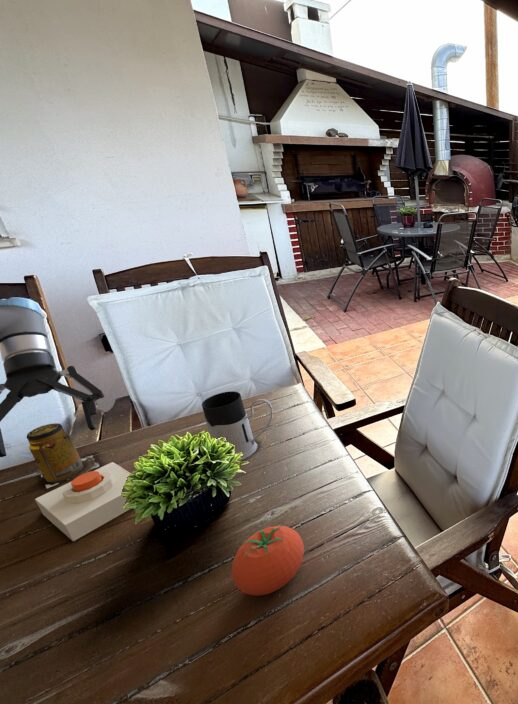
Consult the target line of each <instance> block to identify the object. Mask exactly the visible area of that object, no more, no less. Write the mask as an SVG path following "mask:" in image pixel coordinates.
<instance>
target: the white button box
mask: <svg viewBox="0 0 518 704" xmlns="http://www.w3.org/2000/svg"><path fill="white" fill-rule="evenodd" d="M94 471H98V472H99V473H100V475H101V478H102V481H101V482H100V483H99V484H98V485H96V486H94V487H92V488H90V489H88V490H85V491H81V492H75V491H74V489H73V487H72V485H71V482H72V481H70V482H67V483H65V484H63V485H60V486H59V487H57V488H55V489H53V490H50V491H49V492H46V493H45V494H42V495H40V496H38V497H36V498H34V501H35V503H36V504H37V507H38V508H39V510H40V512H41V514H42V515H43V517H45V518H46V519H47V520H48V521H50V522H51V524H53V525H54V526H55V527H56V528H57V529H59V530H60V532H62V533H63V534H64V535H65V536H66V537H67V538H68V539H69V540H71V541H72V542H76V541H77V540H78V539H80V538H82V537H84V536H86V535H87V534H89V533H91V532H92V531H94V530H96V529H98V528H100V527H101V526H104V525H105V524H107V523H108V522H110V521H112V520H113V519H115V518H117V517H119V516H120V515H123V514H124V513H126V512H128V511H130V509H123V505H124V504H125V502H126V498H125V497H123V496H122V495H121V492H122V489H123V486H124V484H125V482H126V480H127V477H128V476H129V475H130V474H132V473H131V472H129V471H128V470H126V469H125V468H123V467H122V466H120V465H118V464H117V463H115V462H113V461H111V462H110V463H107V464H105V465H103V466H101V467H99V468H96V469H95V470H94Z"/></svg>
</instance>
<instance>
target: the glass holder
mask: <svg viewBox="0 0 518 704" xmlns="http://www.w3.org/2000/svg"><path fill="white" fill-rule="evenodd" d="M259 402H263V403H266V404H267V405H268V406H269V410H270V418H269V421H268V423H267V424H266V425H265V427H264V428H263V429H261V431H260V432H258V433H257V434H256V435H255V436H253V431H252V429H251V424H250V420H249V418H252V417H253V416H254V413H255V412H254V405H255V404H256V403H259ZM201 408H202V411H203V417H204V421H205V423H206V427H207V430H208V433H209V436H210V435H211V436H212V437H213V438H216V439H218V438H220V437H225V438H226V440H227V441H228V442H229V443H231V444H233V445H235V452H242V453H243V457H242V460H241V461H244V460H245V459H247V458H249V457H250V456H252V455H253V454H254V453H255V452H256V451H257V449H258V444H257V442H255V440H256V439H258V438H259V436H260V435H261V434H263V433H264V432H265V431H266V430H267V429H268V428H269V426H270V425H271V423H272V420H273V417H274V411H273V406H272V404H271V402H270V401H269V400H268V399H265V398H258V399H256V400H254V401H253V402H252V403H251V405H250V413H251V414H249V415H248V414H247V411H246V409H245V405H244V403H243V398H242V395H241V393H240V392H239V391H233V390H232V391H231V390H230V391H223V392H220V393H217V394H213V395H211V396H209V397H208V398H206V399H204V400H203V401H202V402H201ZM211 436H210V437H211Z"/></svg>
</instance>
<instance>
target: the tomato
mask: <svg viewBox="0 0 518 704" xmlns="http://www.w3.org/2000/svg"><path fill="white" fill-rule="evenodd" d="M304 554H305V547H304V542H303V539H302V537H301V535H300V534H299V533H298V532H297V531H296V530H295V529H293V528H291V527H289V526H285V525H274V526H269V527H266V528H264V529H259V531H257V532H255V533H254V534H253V535H251V536H250V537H248V538H247V539H246V540H245V541H244V542H243V543H241V546H240V547H239V548H238V550H237V551H236V553H235V555H234V557H233V560H232V565H231V577H232V581H233V583H234V585H235V586H236V588H237V589H238V590H240V591H241V592H242V593H244V594H247V595H250V596H256V597H257V596H264V595H268V594H271V593H274V592H276V591H277V590H280V589H281V588H283V587H284V586H285V585H287V584H288V583H289V582H290V581H291V580H292V579H293V578H294V577H295V576H296V574H297V573H298V571H299V570H300V567H301V565H302V563H303V559H304V556H305V555H304Z"/></svg>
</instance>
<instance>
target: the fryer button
mask: <svg viewBox="0 0 518 704" xmlns="http://www.w3.org/2000/svg"><path fill="white" fill-rule="evenodd" d="M101 481H102V478H101V475H100V473H99V472H98V471H95V470H90V471H88V472H85V473H83V474H80V475H78V476H76V477H74V478H73V480H72V481H70V482H71V485H72V487H73V489H74V491H75V492H81V491H85V490H88V489H90V488H92V487H94V486H96V485H98V484H99V483H100V482H101Z"/></svg>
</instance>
